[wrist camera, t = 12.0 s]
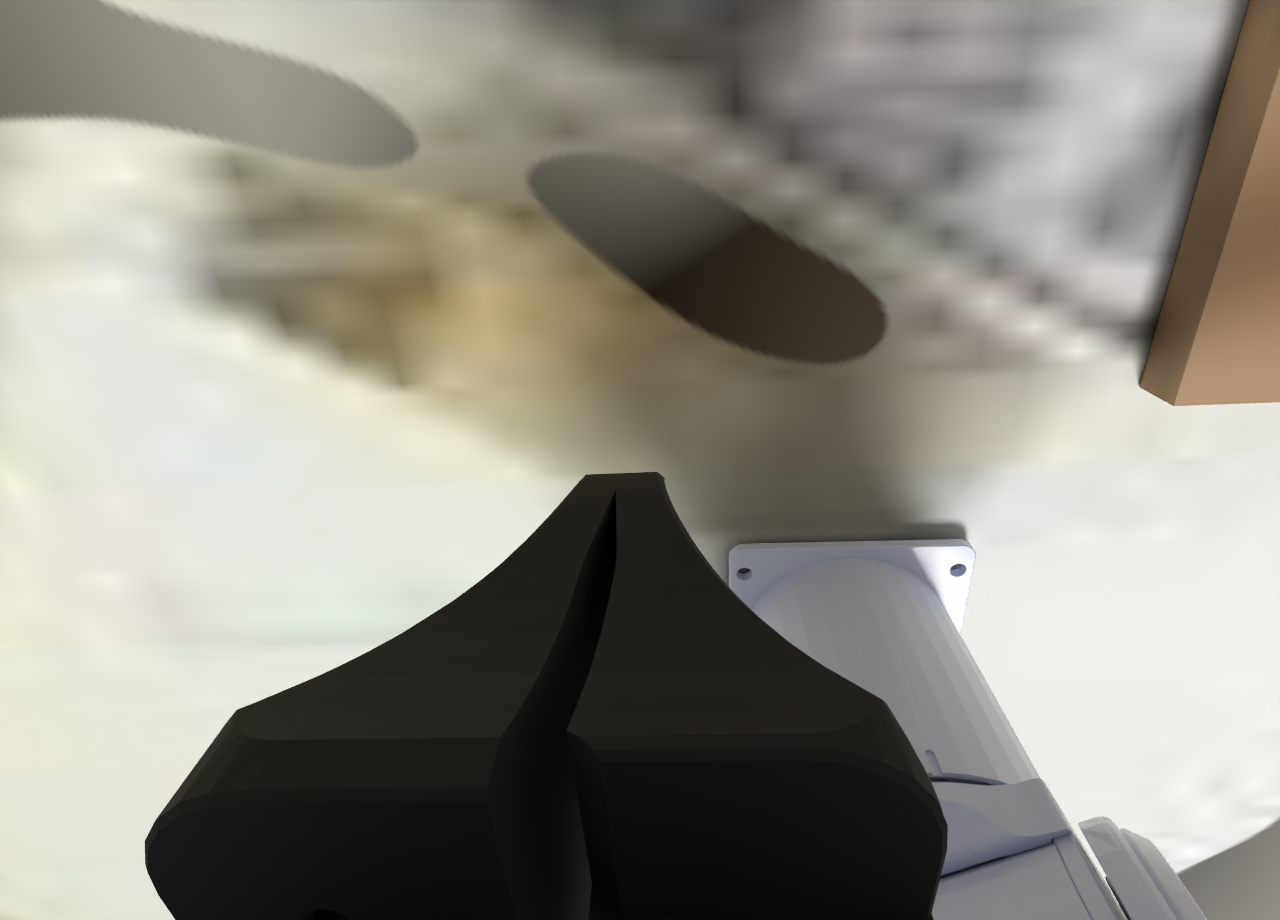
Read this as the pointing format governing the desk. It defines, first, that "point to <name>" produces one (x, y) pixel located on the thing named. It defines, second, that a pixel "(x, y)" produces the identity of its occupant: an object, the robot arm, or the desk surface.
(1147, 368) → the mount
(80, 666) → the desk surface
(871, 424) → the desk surface
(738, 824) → the robot arm
